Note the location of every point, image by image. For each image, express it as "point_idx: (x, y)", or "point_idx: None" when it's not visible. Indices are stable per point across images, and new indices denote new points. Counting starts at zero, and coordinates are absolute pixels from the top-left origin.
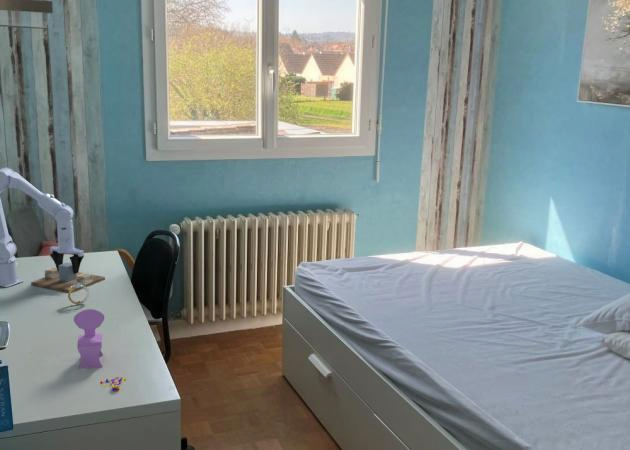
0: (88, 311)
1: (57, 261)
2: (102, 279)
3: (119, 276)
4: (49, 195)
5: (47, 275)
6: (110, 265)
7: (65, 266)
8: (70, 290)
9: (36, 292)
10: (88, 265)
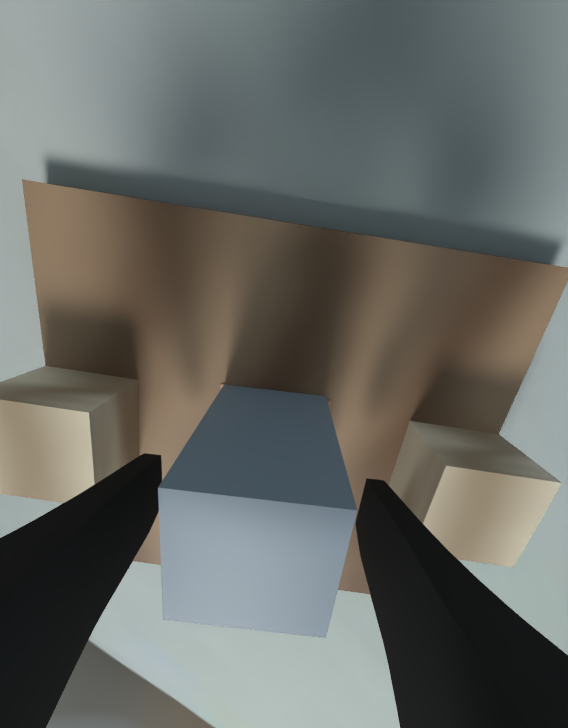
0: None
1: (431, 612)
2: None
3: None
4: None
5: (482, 441)
6: (236, 705)
7: (207, 498)
8: None
9: (376, 56)
10: (350, 687)
